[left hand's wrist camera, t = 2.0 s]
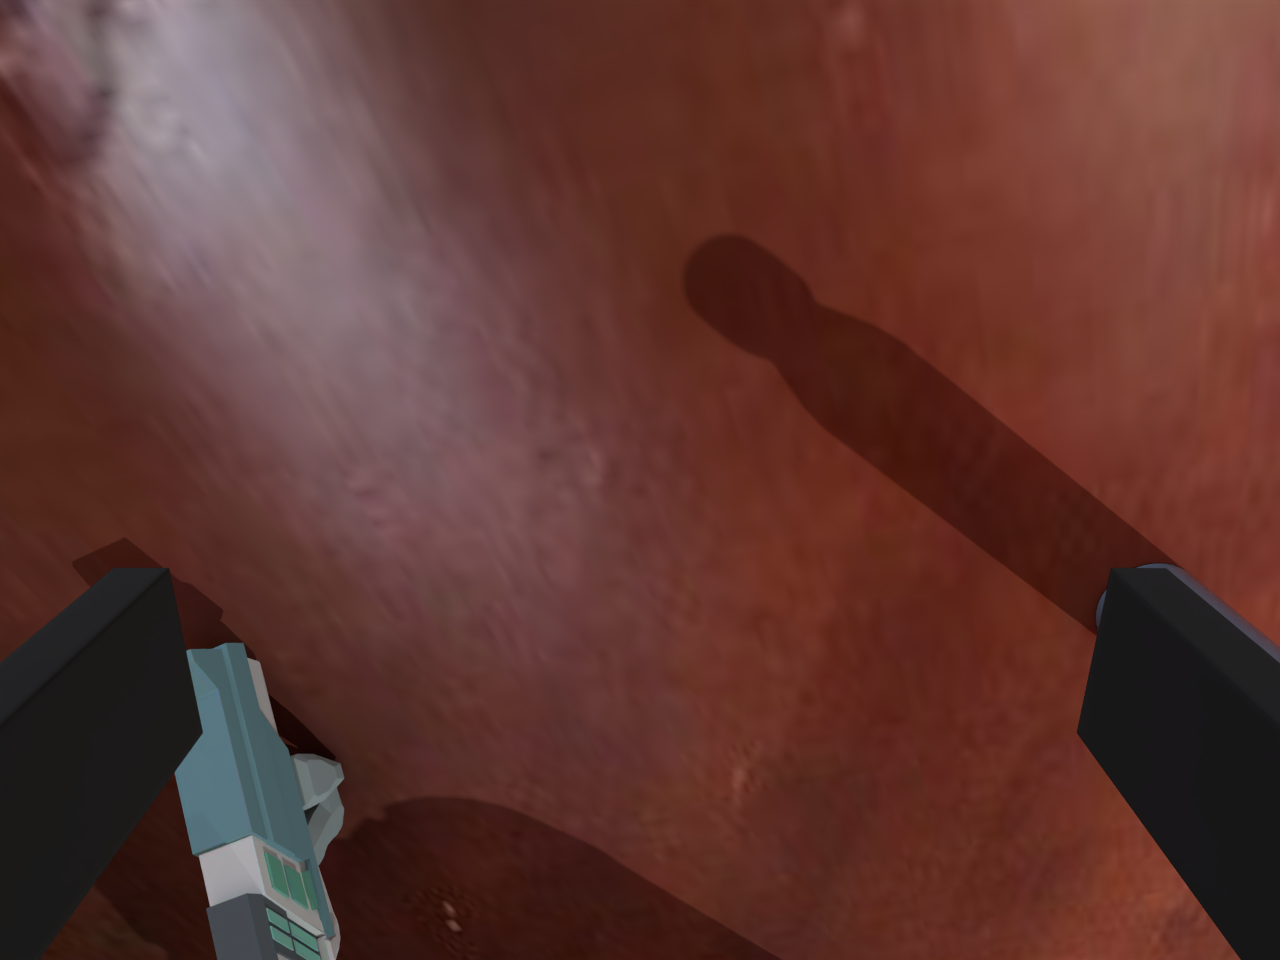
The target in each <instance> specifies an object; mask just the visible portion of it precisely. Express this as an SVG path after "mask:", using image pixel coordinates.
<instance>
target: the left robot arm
mask: <svg viewBox="0 0 1280 960" xmlns="http://www.w3.org/2000/svg"><path fill="white" fill-rule="evenodd" d="M202 734H203V729H202V725H201V720H200V715H199V710H198V705H197V701H196V696H195V691H194V686H193V681H192V677H191V672H190V667H189V662H188V657H187V652H186V648H185V643H184V638H183V633H182V628H181V624H180V619H179V614H178V609H177V604H176V600H175V595H174V590H173V585H172V580H171V576H170V571H169V568H113V569H112V570H111V571H110V572H109V573H107V574H106V575H105V576H104V577H103V578H101V579H100V580H99V581H98V582H97V583H95V584H94V585H93V586H92V587H91V588H89V589H88V590H87V591H86V592H85V593H83V594H82V595H81V596H80V597H79V598H77V599H76V600H75V601H74V602H73V603H71V604H70V605H69V606H68V607H67V608H65V609H64V610H63V611H62V612H61V613H59V614H58V615H57V616H56V617H55V618H53V619H52V620H51V621H50V622H49V623H47V624H46V625H45V626H44V627H43V628H41V629H40V630H39V631H38V632H37V633H35V634H34V635H33V636H32V637H31V638H29V639H28V640H27V641H26V642H25V643H24V644H22V645H21V646H20V647H19V648H18V649H16V650H15V651H14V652H13V653H12V654H10V655H9V656H8V657H7V658H6V659H4V660H3V661H2V662H1V663H0V960H39V959H40V958H41V956H42V955H43V954H44V952H45V951H46V949H47V948H48V947H49V945H50V944H51V943H52V941H53V940H54V938H55V937H56V936H57V934H58V933H59V931H60V930H61V929H62V927H63V926H64V925H65V923H66V922H67V920H68V919H69V918H70V916H71V915H72V913H73V912H74V911H75V909H76V908H77V907H78V905H79V904H80V902H81V901H82V900H83V898H84V897H85V896H86V894H87V893H88V891H89V890H90V889H91V887H92V886H93V884H94V883H95V882H96V880H97V879H98V878H99V876H100V875H101V873H102V872H103V871H104V869H105V868H106V866H107V865H108V864H109V862H110V861H111V860H112V858H113V857H114V855H115V854H116V853H117V851H118V850H119V848H120V847H121V846H122V844H123V843H124V842H125V840H126V839H127V837H128V836H129V835H130V833H131V832H132V831H133V829H134V828H135V826H136V825H137V824H138V822H139V821H140V819H141V818H142V817H143V815H144V814H145V813H146V811H147V810H148V808H149V807H150V806H151V804H152V803H153V801H154V800H155V799H156V797H157V796H158V795H159V793H160V792H161V790H162V789H163V788H164V786H165V785H166V784H167V782H168V781H169V779H170V778H171V777H172V775H173V774H174V772H175V771H176V770H177V768H178V767H179V766H180V764H181V763H182V761H183V760H184V759H185V757H186V756H187V754H188V753H189V752H190V750H191V749H192V748H193V746H194V745H195V743H196V742H197V741H198V739H199V738H200V736H201V735H202ZM1077 734H1078V735H1079V736H1080V738H1081V739H1082V741H1083V742H1084V743H1085V745H1086V746H1087V748H1088V749H1089V750H1090V752H1091V753H1092V754H1093V756H1094V757H1095V759H1096V760H1097V761H1098V763H1099V764H1100V766H1101V767H1102V768H1103V770H1104V771H1105V772H1106V774H1107V775H1108V777H1109V778H1110V779H1111V781H1112V782H1113V784H1114V785H1115V786H1116V788H1117V789H1118V790H1119V792H1120V793H1121V795H1122V796H1123V797H1124V799H1125V800H1126V801H1127V803H1128V804H1129V806H1130V807H1131V808H1132V810H1133V811H1134V813H1135V814H1136V815H1137V817H1138V818H1139V819H1140V821H1141V822H1142V824H1143V825H1144V826H1145V828H1146V829H1147V831H1148V832H1149V833H1150V835H1151V836H1152V837H1153V839H1154V840H1155V842H1156V843H1157V844H1158V846H1159V847H1160V848H1161V850H1162V851H1163V853H1164V854H1165V855H1166V857H1167V858H1168V860H1169V861H1170V862H1171V864H1172V865H1173V866H1174V868H1175V869H1176V871H1177V872H1178V873H1179V875H1180V876H1181V878H1182V879H1183V880H1184V882H1185V883H1186V884H1187V886H1188V887H1189V889H1190V890H1191V891H1192V893H1193V894H1194V896H1195V897H1196V898H1197V900H1198V901H1199V902H1200V904H1201V905H1202V907H1203V908H1204V909H1205V911H1206V912H1207V913H1208V915H1209V916H1210V918H1211V919H1212V920H1213V922H1214V923H1215V925H1216V926H1217V927H1218V929H1219V930H1220V931H1221V933H1222V934H1223V936H1224V937H1225V938H1226V940H1227V941H1228V943H1229V944H1230V945H1231V947H1232V948H1233V949H1234V951H1235V952H1236V954H1237V955H1238V956H1239V958H1240V959H1241V960H1280V663H1279V662H1278V661H1277V660H1276V659H1274V658H1273V657H1272V656H1271V655H1270V654H1268V653H1267V652H1266V651H1265V650H1264V649H1262V648H1261V647H1260V646H1259V645H1258V644H1256V643H1255V642H1254V641H1253V640H1252V639H1251V638H1249V637H1248V636H1247V635H1246V634H1245V633H1243V632H1242V631H1241V630H1240V629H1239V628H1237V627H1236V626H1235V625H1234V624H1233V623H1231V622H1230V621H1229V620H1228V619H1227V618H1225V617H1224V616H1223V615H1222V614H1221V613H1219V612H1218V611H1217V610H1216V609H1215V608H1213V607H1212V606H1211V605H1210V604H1209V603H1207V602H1206V601H1205V600H1204V599H1203V598H1201V597H1200V596H1199V595H1198V594H1197V593H1195V592H1194V591H1193V590H1192V589H1191V588H1189V587H1188V586H1187V585H1186V584H1185V583H1183V582H1182V581H1181V580H1180V579H1179V578H1177V577H1176V576H1175V575H1174V574H1173V573H1171V572H1170V571H1169V570H1168V569H1167V568H1111V571H1110V576H1109V580H1108V585H1107V590H1106V595H1105V600H1104V604H1103V609H1102V614H1101V619H1100V624H1099V628H1098V633H1097V638H1096V643H1095V648H1094V652H1093V657H1092V662H1091V667H1090V672H1089V677H1088V681H1087V686H1086V691H1085V696H1084V701H1083V705H1082V710H1081V715H1080V720H1079V725H1078V729H1077Z"/></svg>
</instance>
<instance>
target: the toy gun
mask: <svg viewBox="0 0 1280 960" xmlns="http://www.w3.org/2000/svg"><path fill="white" fill-rule="evenodd" d="M186 652H187V657H188V662H189V667H190V672H191V677H192V681H193V686H194V691H195V696H196V701H197V705H198V710H199V715H200V720H201V725H202V729H203V734H202V735H201V736H200V738H199V739H198V741H197V742H196V743H195V745H194V746H193V748H192V749H191V750H190V752H189V753H188V754H187V756H186V757H185V759H184V760H183V761H182V763H181V764H180V766H179V767H178V768H177V770H176V771H175V776H176V781H177V785H178V790H179V794H180V799H181V803H182V808H183V813H184V817H185V822H186V826H187V831H188V835H189V840H190V844H191V849H192V853H193V855H195V856H197V857H199V859H200V863H201V868H202V872H203V877H204V881H205V886H206V890H207V895H208V899H209V904H210V907H208V908H206V910H207V914H208V919H209V923H210V928H211V932H212V937H213V941H214V946H215V950H216V955H217V959H218V960H336V956H337V953H338V950H339V944H340V932H339V925H338V922H337V919H336V916H335V914H334V912H333V909H332V906H331V903H330V900H329V897H328V894H327V891H326V888H325V885H324V882H323V879H322V876H321V873H320V869H319V864H320V863H321V861H322V859H323V857H324V855H325V851H326V848H327V846H328V844H329V843H330V842H331V840H332V839H333V838H334V837H335V836H336V835H337V834H338V832H339V831H340V829H341V827H342V825H343V815H344V807H343V805H342V803H341V800H340V796H339V793H338V790H337V786H338V785H339V784H340V783H341V782H342V780H343V779H344V775H343V771H342V768H341V764H340V763H338V762H335V761H332V760H329V759H327V758H324V757H321V756H318V755H315V754H295V755H292V756H290V754H289V750H288V748H287V747H286V746H285V744H284V743H283V741H282V740H281V739H280V737H279V736H278V732H277V728H276V724H275V720H274V716H273V712H272V708H271V704H270V700H269V696H268V692H267V688H266V684H265V680H264V676H263V672H262V668H261V664H260V662H259V661H255V660H252V659H249V658H247V655H246V651H245V647H244V643H225V644H222V645H220V646H217V647H215V648H213V649H189V650H187V651H186Z"/></svg>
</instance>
